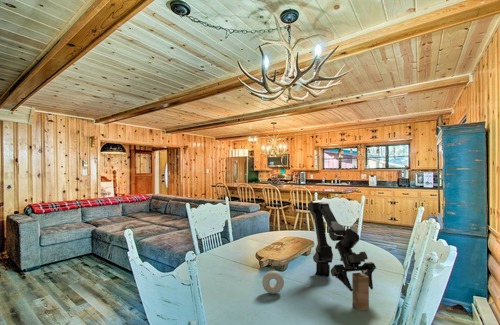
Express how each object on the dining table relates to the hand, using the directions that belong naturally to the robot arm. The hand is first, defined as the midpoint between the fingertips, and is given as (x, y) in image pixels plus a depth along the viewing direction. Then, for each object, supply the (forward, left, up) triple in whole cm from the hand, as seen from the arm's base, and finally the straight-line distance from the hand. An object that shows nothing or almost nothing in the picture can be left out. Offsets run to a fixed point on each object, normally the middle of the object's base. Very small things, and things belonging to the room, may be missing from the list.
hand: (362, 290), depth 100 cm
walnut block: (-1, +1, -7) cm, 7 cm away
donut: (-37, 0, -8) cm, 38 cm away
